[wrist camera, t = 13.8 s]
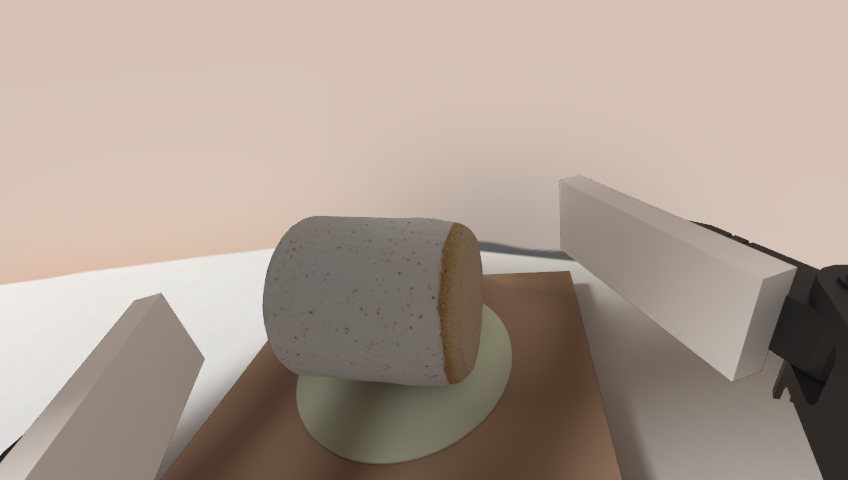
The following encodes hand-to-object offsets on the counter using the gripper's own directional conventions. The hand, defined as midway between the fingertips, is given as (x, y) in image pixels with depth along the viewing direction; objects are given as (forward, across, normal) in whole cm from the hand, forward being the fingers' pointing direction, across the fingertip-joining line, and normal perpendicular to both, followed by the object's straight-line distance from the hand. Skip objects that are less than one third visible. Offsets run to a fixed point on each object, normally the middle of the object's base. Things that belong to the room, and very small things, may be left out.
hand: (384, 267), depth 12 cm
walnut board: (+4, 0, -9) cm, 10 cm away
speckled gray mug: (+5, 0, -8) cm, 9 cm away
